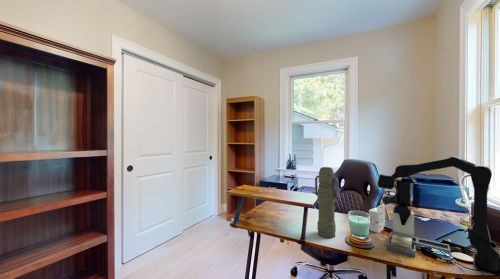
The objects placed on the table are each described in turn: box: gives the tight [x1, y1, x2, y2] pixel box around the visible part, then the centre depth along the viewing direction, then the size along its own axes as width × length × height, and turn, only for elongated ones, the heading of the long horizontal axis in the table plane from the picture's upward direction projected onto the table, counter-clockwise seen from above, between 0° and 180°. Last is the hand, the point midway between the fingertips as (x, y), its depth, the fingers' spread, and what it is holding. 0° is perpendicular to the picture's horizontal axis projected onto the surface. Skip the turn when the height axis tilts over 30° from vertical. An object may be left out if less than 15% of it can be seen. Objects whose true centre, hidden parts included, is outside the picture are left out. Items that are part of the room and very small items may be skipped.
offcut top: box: [392, 234, 412, 246], centre depth 97 cm, size 7×4×2 cm, turn 52°
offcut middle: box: [391, 239, 411, 249], centre depth 97 cm, size 7×4×2 cm, turn 52°
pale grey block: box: [392, 208, 415, 237], centre depth 104 cm, size 8×2×10 cm, turn 52°
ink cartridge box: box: [368, 203, 386, 233], centre depth 119 cm, size 9×5×15 cm, turn 126°
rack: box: [386, 231, 451, 258], centre depth 97 cm, size 22×17×4 cm
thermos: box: [314, 166, 340, 239], centre depth 114 cm, size 9×12×35 cm
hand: (403, 224), depth 104 cm, fingers closed on pale grey block, 2 cm apart
